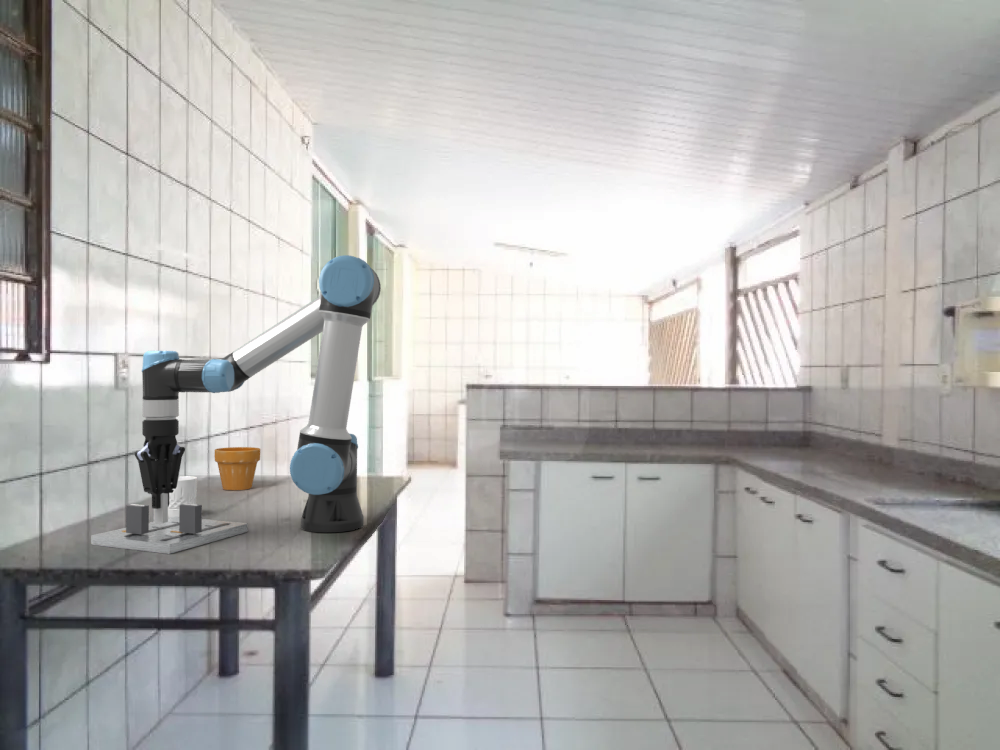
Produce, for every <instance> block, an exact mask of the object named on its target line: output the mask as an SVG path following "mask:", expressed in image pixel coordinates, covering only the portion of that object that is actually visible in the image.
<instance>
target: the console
mask: <svg viewBox="0 0 1000 750" xmlns="http://www.w3.org/2000/svg"><path fill="white" fill-rule="evenodd" d="M248 527H249V525H248V523H247V522H237V521H228V520H217V519H208V518H202V532H200V533H196V534H192V533H183V532H179V517H177V516H175V517H171V518H168V522H166V523H154V522H153V521H149V533H145V534H132V533H126V527H122V528H119V529H114V530H109V531H104V532H100V533H95V534H91V535H90V544H91V545H93V546H101V547H109V548H114V549H115V548H117V549H125V550H133V551H142V552H150V553H160V554H167V555H171V554H175V553H178V552H182V551H185V550H188V549H191V548H196V547H199V546H202V545H206V544H210V543H214V542H216V541H220V540H224V539H228V538H231V537H234V536H238V535H241V534H245V533H248V531H249V530H248Z"/></svg>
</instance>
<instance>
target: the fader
mask: <svg viewBox="0 0 1000 750" xmlns="http://www.w3.org/2000/svg"><path fill="white" fill-rule="evenodd" d="M202 515H203V505H202V504H197V503H196V504H182V505H180V510H179V532H183V533H192V534H196V533H200V532H202V519H203V516H202Z"/></svg>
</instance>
